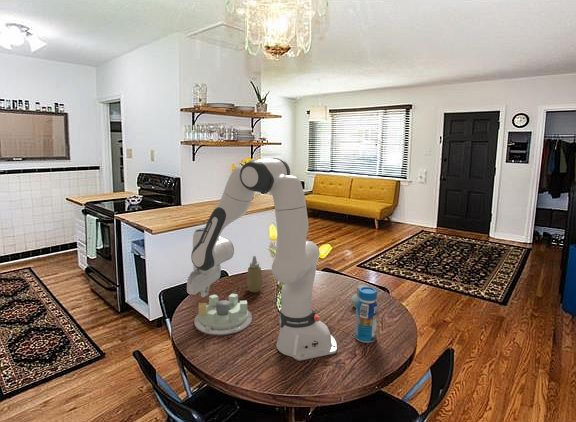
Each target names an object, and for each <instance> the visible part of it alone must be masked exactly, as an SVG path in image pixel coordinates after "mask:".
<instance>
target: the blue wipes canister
mask: <svg viewBox="0 0 576 422" xmlns="http://www.w3.org/2000/svg"><path fill="white" fill-rule="evenodd" d="M377 297H378V291H377V289H375V288H374V287H372V286H371V287H370V286H369V287H362V288H360V289H359V298H360V299H359V300H358V302H357V304H356V307H357V308H356V309H355V326H354V338H355V339H356V340H357V341H358V342H361V343H365V344H366V343H367V344H371V343H373V342H375V341H376V338H377V326H378V325H377V324H378V317H379V312H378V310H379V305H378V303H377V301H376V300H377V299H378V298H377Z"/></svg>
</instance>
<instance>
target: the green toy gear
mask: <svg viewBox="0 0 576 422" xmlns="http://www.w3.org/2000/svg"><path fill="white" fill-rule="evenodd" d="M197 309H198V314H197V315H198V320H199V323H200V324H201V325H202V326H204V327H206V326H207V325H208V326H212V329H216V330H223V329H230V328H234V327H237V326H239V325H241V324H243V323H244V322H245V321H246V320H247V318H248V311H249V310H248V301H247V300H239V294H236V293H231V294H230V295H228V300H227V299H224V300H219V296H218V295H217V294H211V295H209V296H208V304H207V302H199V303H198V308H197Z"/></svg>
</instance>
